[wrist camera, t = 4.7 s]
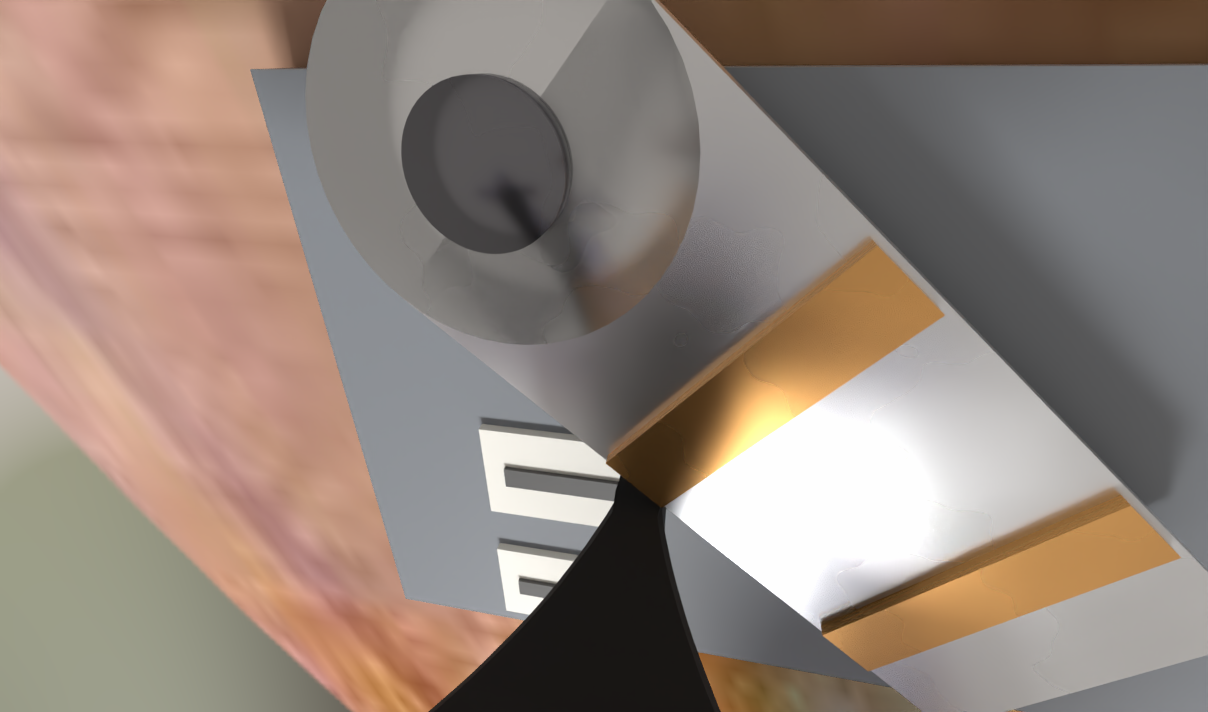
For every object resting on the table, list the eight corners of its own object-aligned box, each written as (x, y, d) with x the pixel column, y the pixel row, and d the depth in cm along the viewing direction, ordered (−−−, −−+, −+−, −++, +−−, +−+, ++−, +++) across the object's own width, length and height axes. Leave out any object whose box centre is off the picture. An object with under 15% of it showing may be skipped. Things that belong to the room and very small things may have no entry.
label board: (1856, 9, 6) (2113, -1, 5) (1189, 701, 13) (1232, 763, 12) (283, 35, 9) (224, 33, 8) (422, 570, 16) (400, 607, 15)
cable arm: (327, 159, 9) (229, 185, 7) (489, -175, 6) (401, -260, 5) (918, 649, 12) (952, 752, 10) (1188, 549, 9) (1296, 664, 7)
